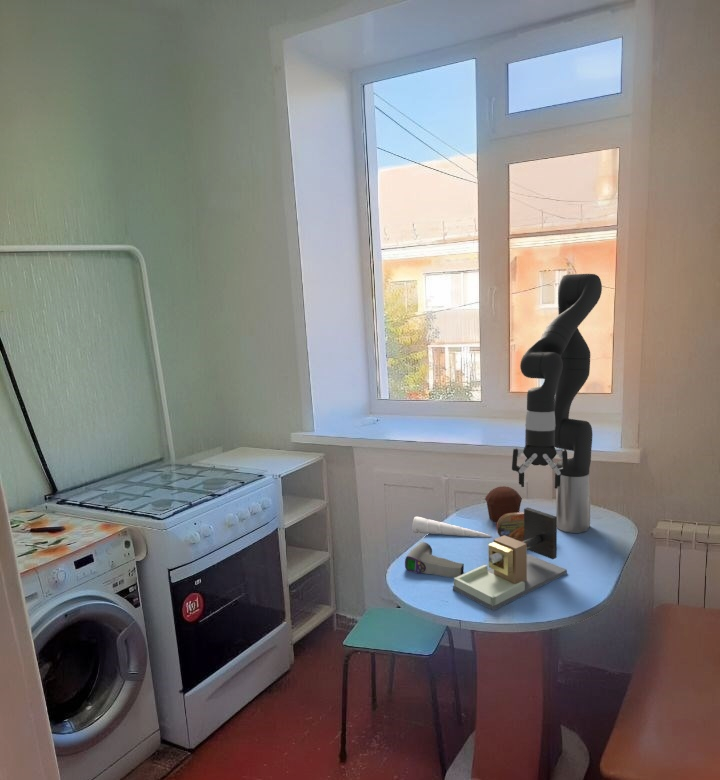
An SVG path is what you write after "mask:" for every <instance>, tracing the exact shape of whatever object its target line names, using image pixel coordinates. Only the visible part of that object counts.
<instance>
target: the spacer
mask: <svg viewBox="0 0 720 780" xmlns="http://www.w3.org/2000/svg"><path fill="white" fill-rule="evenodd" d="M495 553H499V554H502V555H504V564H502V563H499V562H496V563H491V562H490V560H489V559H488V568H490V569H491V568H492V569H494V570H496V571H498V572H501V573H503V574H505V575H507V576H508V575H510V574H512V573H513V550H512V549H510V548H507V547H505V546H502V545H500V544H497V543H495V542H494V541H493V542H491V543H489V544H488V557H489V556H490V555H492V554H495Z"/></svg>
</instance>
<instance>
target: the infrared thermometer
mask: <svg viewBox="0 0 720 780" xmlns="http://www.w3.org/2000/svg"><path fill="white" fill-rule="evenodd" d="M464 566H465V565H464V563H461V562H456V561H453V560H450V559H448V558H444V557H439V556H436V555H433V549H432V546H431V545H430V544H429V543H428V542H425V541H421V542H420V543H418V544H416V546H414V547H413V548H412V549H411V550H410V551H409V553H408V554H407V555H406V557H405V559H404V567H405V570H406V571H407V572H411V573H415V574H427V575H435V576H438V577H439V576H441V577H446V578H453V579H454V578H456V577H458V576H460V575H462V574H464V570H465V567H464Z"/></svg>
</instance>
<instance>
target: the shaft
mask: <svg viewBox="0 0 720 780" xmlns="http://www.w3.org/2000/svg"><path fill="white" fill-rule="evenodd" d="M523 512H524V541H523V543H526V544H527V550H528V551H530V552H533V553H535V554H538V555H541V556H543V557H545V558H548V559H551V560H554V559H556V558H557V556H558V554H557V549H558V548H557V547H558V546H557V540H558V539H557V536H558V535H557V533H558V532H557V531H558V530H557V529H558V528H557V517H556V516H555V515H553V514H549V513H546V512H543V511H539V510H537V509H534V508H531V507H525V508H524V509H523ZM503 559H504V555H502V554H499V553H495V554H492V555H490V556H489V555H488V561H489V560H490V562H491V563H496V562H498V561H500V560H503Z"/></svg>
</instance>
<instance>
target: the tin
mask: <svg viewBox="0 0 720 780" xmlns="http://www.w3.org/2000/svg"><path fill="white" fill-rule="evenodd" d="M496 533H497V534H498V536H499V537H501V536H504V535H505V536H508V537H510V538H513V539H515V540H518V541H521V542H523V541H524V511H519V513H507V514H504V515H503V516H501V517H500V518H499V520H498V522H496Z"/></svg>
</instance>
